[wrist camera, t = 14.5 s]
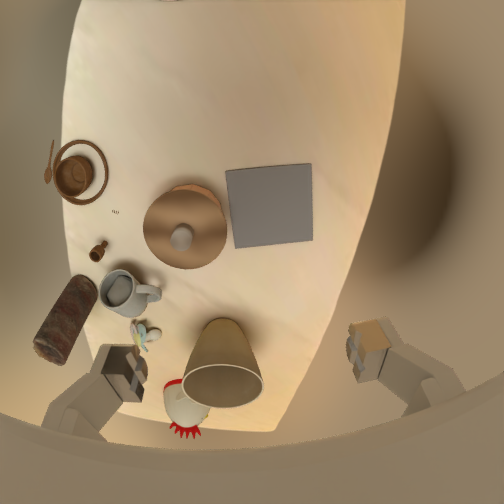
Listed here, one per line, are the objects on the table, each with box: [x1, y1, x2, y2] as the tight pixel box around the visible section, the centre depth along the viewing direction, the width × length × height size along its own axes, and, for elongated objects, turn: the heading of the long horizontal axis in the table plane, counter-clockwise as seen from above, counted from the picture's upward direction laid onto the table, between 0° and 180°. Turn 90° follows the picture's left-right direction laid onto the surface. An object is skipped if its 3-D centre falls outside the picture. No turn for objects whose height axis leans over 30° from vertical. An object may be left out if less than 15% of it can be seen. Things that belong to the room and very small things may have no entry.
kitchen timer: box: [163, 379, 211, 438], centre depth 67 cm, size 14×14×15 cm
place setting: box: [44, 140, 119, 262], centre depth 43 cm, size 18×20×6 cm
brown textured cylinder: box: [33, 275, 97, 366], centre depth 46 cm, size 8×7×20 cm
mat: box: [225, 164, 313, 249], centre depth 49 cm, size 14×14×1 cm
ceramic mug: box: [99, 269, 162, 318], centre depth 50 cm, size 11×8×8 cm
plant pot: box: [181, 318, 264, 409], centre depth 55 cm, size 15×15×16 cm
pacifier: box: [130, 323, 162, 352], centre depth 60 cm, size 7×6×6 cm
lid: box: [143, 189, 227, 269], centre depth 42 cm, size 13×13×5 cm
